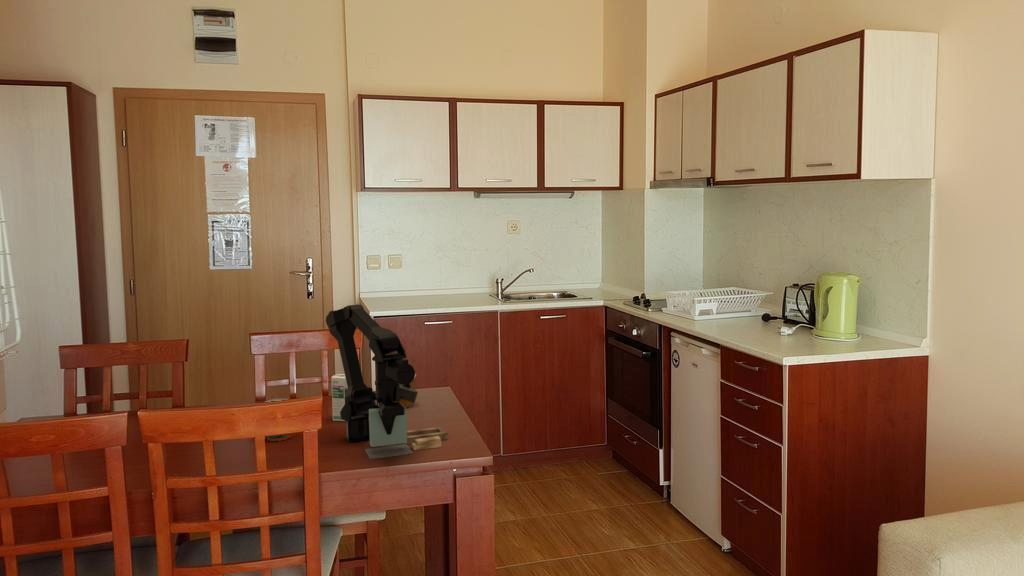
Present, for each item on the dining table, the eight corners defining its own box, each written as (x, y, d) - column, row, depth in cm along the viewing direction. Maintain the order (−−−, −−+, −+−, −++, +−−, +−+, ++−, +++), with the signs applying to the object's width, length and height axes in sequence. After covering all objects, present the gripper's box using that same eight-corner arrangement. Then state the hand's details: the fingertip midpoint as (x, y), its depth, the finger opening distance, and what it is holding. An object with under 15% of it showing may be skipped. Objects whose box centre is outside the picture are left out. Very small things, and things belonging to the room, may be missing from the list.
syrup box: (332, 421, 248) (330, 376, 246) (340, 415, 253) (338, 372, 252) (348, 422, 246) (346, 377, 245) (356, 416, 252) (354, 373, 250)
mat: (369, 459, 211) (369, 458, 211) (365, 450, 219) (364, 449, 218) (412, 453, 215) (412, 452, 215) (406, 445, 223) (406, 444, 223)
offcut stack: (414, 450, 218) (413, 442, 218) (411, 447, 221) (411, 439, 221) (441, 447, 221) (441, 438, 221) (438, 443, 224) (438, 435, 223)
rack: (397, 445, 222) (397, 439, 222) (392, 439, 229) (392, 432, 228) (447, 439, 228) (447, 433, 227) (441, 433, 234) (441, 426, 233)
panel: (371, 446, 214) (370, 411, 212) (369, 443, 216) (368, 409, 215) (407, 442, 217) (406, 408, 216) (404, 439, 220) (404, 405, 219)
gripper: (422, 383, 208) (423, 439, 210) (407, 368, 226) (408, 420, 228) (381, 387, 205) (383, 443, 206) (369, 372, 222) (371, 424, 224)
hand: (387, 432), depth 216 cm, fingers closed on panel, 3 cm apart
